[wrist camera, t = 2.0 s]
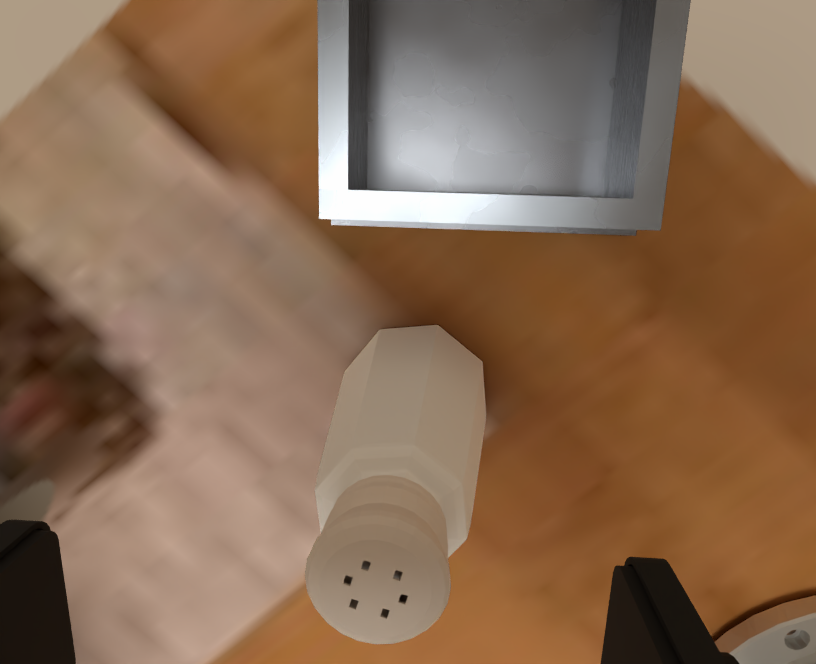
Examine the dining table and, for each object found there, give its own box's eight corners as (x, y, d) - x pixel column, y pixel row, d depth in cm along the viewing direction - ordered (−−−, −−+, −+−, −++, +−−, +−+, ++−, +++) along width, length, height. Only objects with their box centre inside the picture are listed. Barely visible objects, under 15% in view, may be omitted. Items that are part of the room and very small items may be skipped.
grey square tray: (671, -111, 17) (734, -200, 13) (630, 234, 20) (673, 246, 16) (334, -109, 18) (299, -192, 14) (334, 223, 20) (305, 232, 16)
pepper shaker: (510, 346, 21) (566, 510, 10) (462, 478, 22) (468, 742, 12) (365, 300, 21) (270, 417, 10) (326, 435, 22) (207, 659, 12)
